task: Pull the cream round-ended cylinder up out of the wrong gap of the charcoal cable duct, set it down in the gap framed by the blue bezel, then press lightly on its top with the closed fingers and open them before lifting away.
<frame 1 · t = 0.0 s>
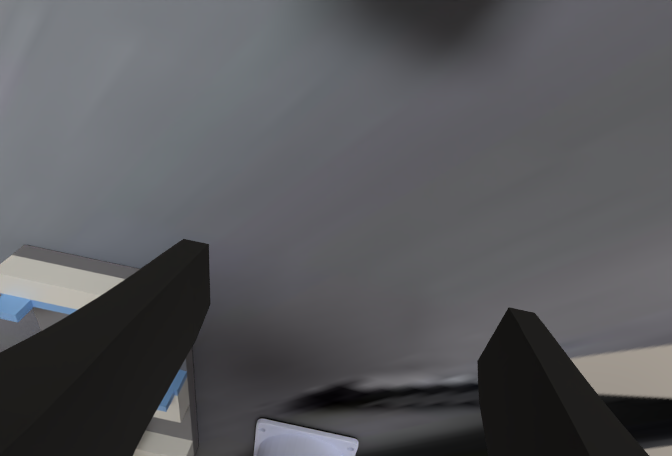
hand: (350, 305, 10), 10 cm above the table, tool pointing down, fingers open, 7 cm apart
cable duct: (127, 363, 31), on the table
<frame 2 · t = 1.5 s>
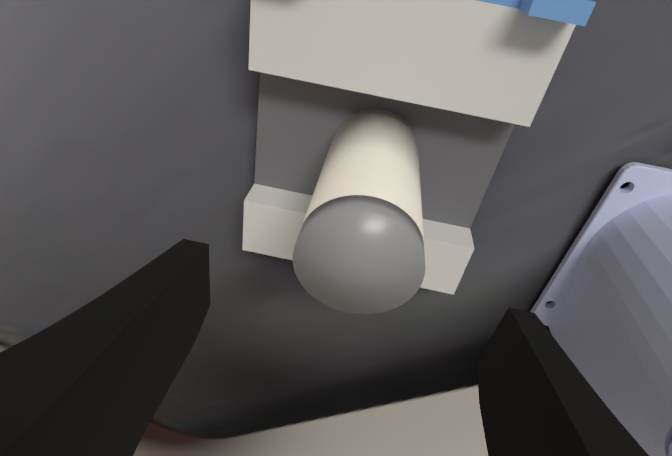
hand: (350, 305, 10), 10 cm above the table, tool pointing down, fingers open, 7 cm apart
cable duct: (401, 31, 16), on the table
cream round-ended cylinder: (374, 151, 17), point 1 cm above the table, touching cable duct
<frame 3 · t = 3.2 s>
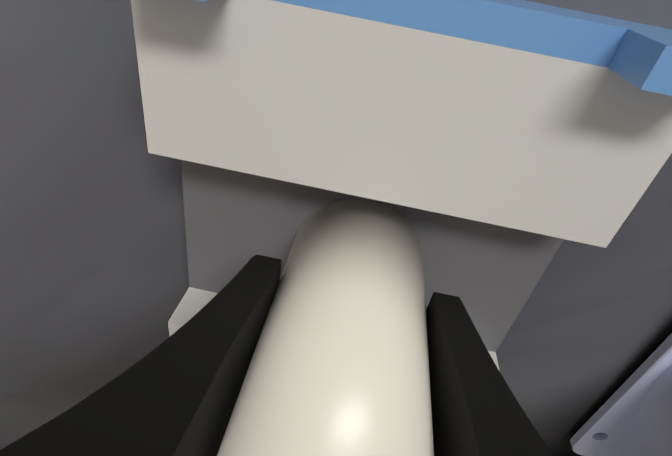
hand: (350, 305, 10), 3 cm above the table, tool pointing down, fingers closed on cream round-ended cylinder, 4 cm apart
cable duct: (396, 84, 10), on the table
cream round-ended cylinder: (357, 254, 12), point 1 cm above the table, touching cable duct, gripper
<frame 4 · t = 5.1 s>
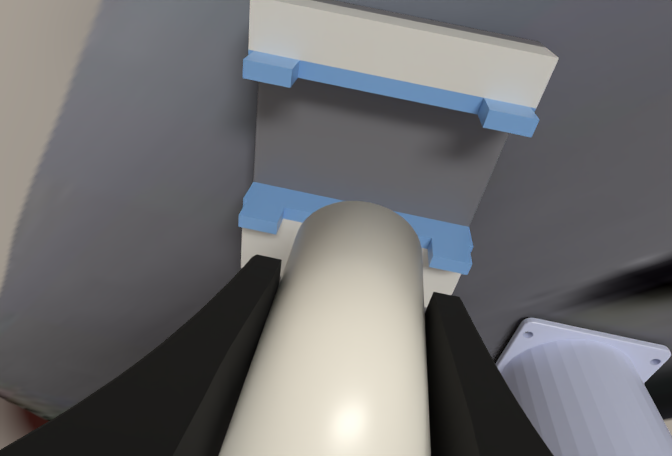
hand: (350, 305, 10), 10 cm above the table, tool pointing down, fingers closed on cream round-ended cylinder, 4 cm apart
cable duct: (353, 230, 21), on the table
cream round-ended cylinder: (357, 254, 12), point 8 cm above the table, touching gripper
when the fingers open (4 cm above the table, at t = 7.0 s): cream round-ended cylinder stays where it is, resting on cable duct.
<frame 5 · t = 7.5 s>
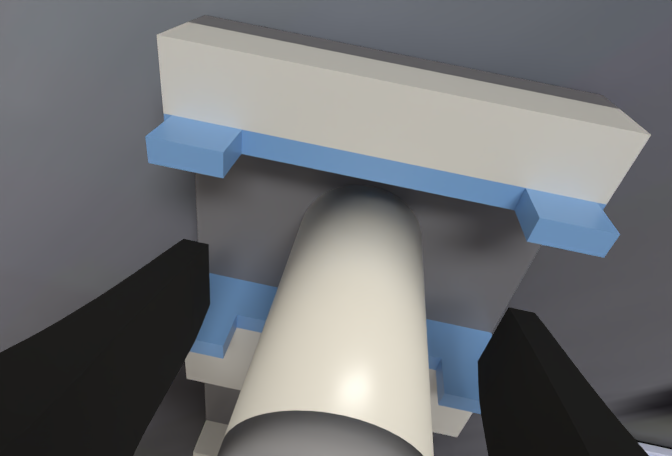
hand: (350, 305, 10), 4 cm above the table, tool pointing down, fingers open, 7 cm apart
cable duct: (337, 323, 16), on the table
cream round-ended cylinder: (360, 238, 13), point 1 cm above the table, touching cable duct
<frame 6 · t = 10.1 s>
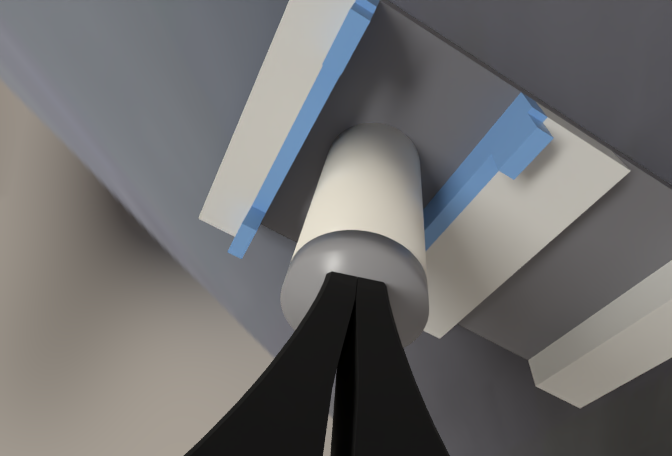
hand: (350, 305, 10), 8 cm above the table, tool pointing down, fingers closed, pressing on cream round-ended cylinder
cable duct: (473, 213, 18), on the table
cream round-ended cylinder: (372, 167, 16), point 1 cm above the table, touching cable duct, gripper
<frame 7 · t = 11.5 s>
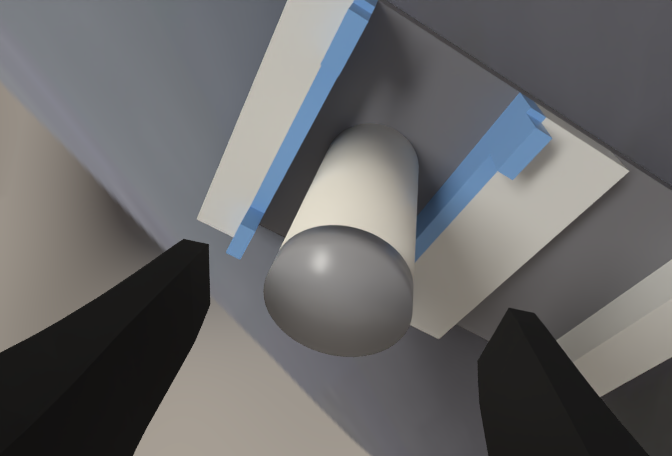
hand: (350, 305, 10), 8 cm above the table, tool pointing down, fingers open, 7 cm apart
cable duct: (472, 213, 18), on the table
cream round-ended cylinder: (371, 168, 16), point 1 cm above the table, touching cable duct
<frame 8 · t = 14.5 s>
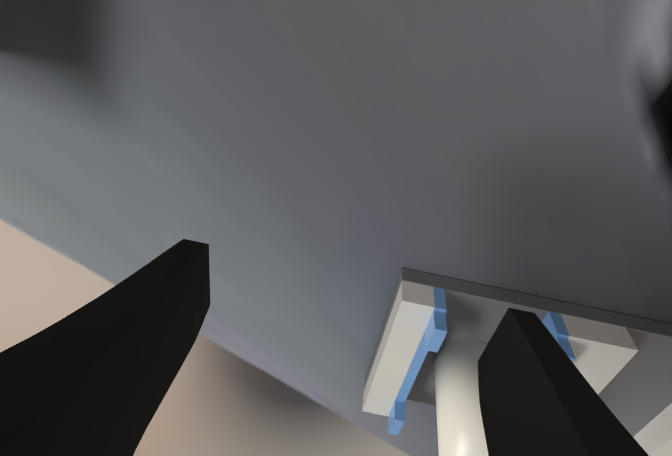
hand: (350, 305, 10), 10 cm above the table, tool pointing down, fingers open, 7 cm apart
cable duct: (543, 362, 25), on the table
cream round-ended cylinder: (464, 359, 25), point 1 cm above the table, touching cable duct
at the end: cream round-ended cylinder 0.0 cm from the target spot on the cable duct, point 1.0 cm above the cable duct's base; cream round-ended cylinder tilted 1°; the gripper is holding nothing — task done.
